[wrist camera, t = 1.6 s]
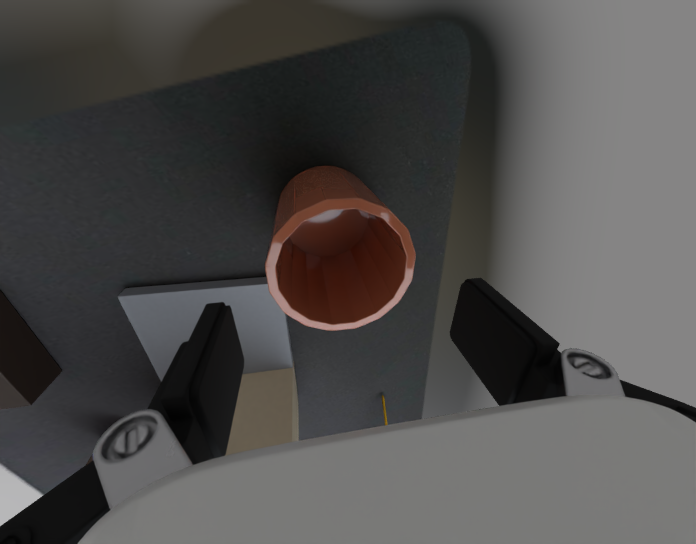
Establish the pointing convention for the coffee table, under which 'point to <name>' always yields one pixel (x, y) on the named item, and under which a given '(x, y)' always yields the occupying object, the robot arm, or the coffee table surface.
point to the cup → (336, 252)
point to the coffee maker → (256, 342)
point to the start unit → (21, 361)
